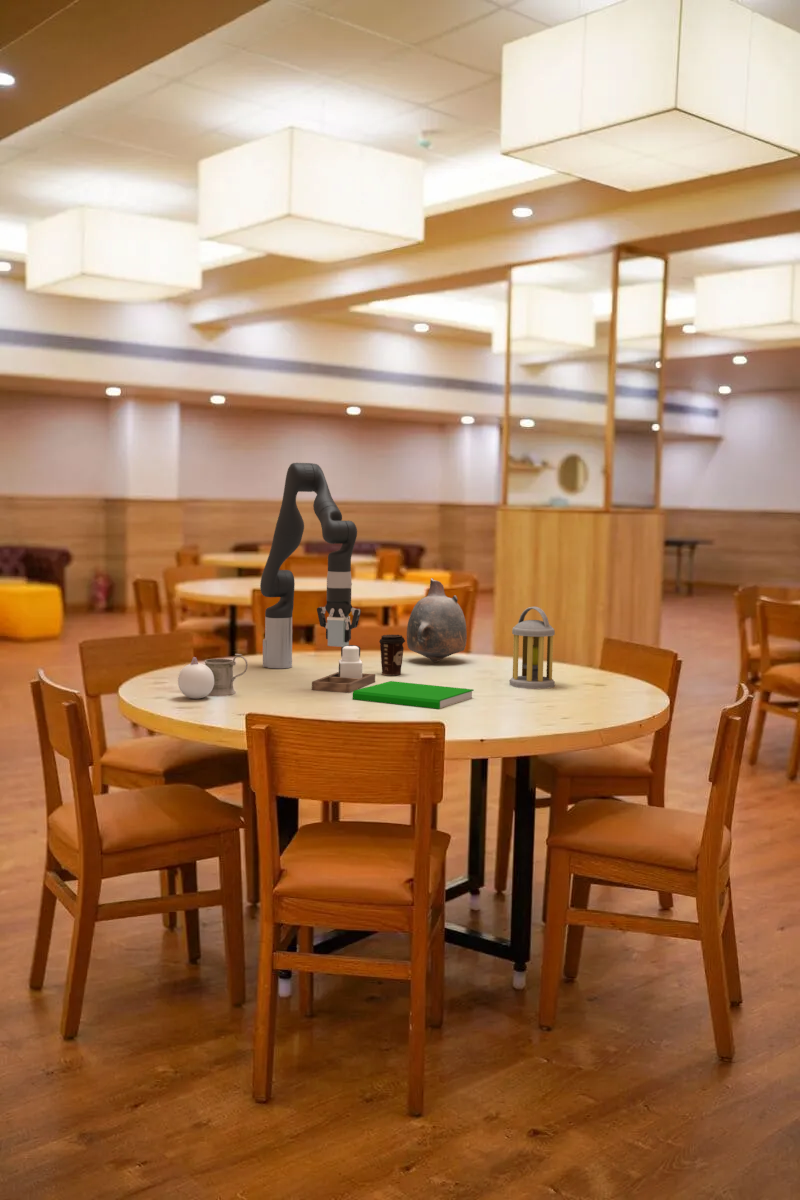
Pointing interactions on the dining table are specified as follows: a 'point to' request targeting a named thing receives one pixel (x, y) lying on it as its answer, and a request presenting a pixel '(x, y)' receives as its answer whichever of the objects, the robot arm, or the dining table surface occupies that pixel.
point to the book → (413, 694)
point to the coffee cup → (391, 654)
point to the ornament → (196, 680)
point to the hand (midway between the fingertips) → (338, 641)
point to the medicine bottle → (350, 662)
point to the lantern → (533, 652)
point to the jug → (436, 625)
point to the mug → (223, 675)
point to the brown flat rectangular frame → (342, 683)
